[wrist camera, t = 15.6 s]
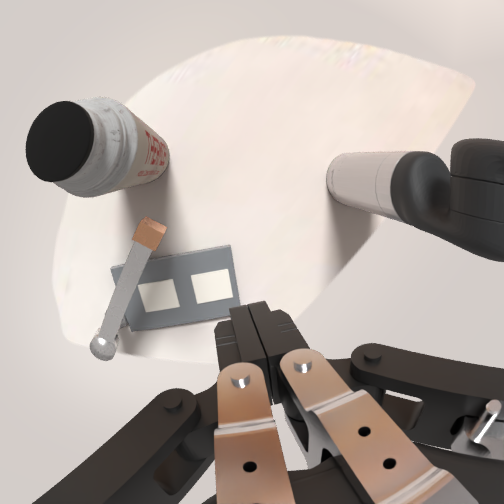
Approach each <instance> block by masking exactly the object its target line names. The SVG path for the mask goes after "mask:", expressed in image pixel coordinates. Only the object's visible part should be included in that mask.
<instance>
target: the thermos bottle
mask: <svg viewBox="0 0 504 504" xmlns="http://www.w3.org/2000/svg"><path fill="white" fill-rule="evenodd" d="M26 158H27V162H28V165H29V167H30V169H31V171H32V172H33V173H34V175H36V176H37V177H38V178H39V179H41V180H43V181H48V182H53V183H55V184H56V185H57V186H58V187H61V188H62V189H64V190H66V191H67V192H68V193H70V194H73V195H75V196H79V197H84V198H85V197H96V196H100V195H103V194H107V193H110V192H114V191H118V190H121V189H125V188H129V187H132V186H136V185H140V184H144V183H148V182H151V181H154V180H155V179H157V178H158V177H160V176H161V175H162V174H163V172H164V171H165V169H166V167H167V165H168V162H169V149H168V146H167V144H166V142H165V141H164V140H163V139H162V138H161V137H160V136H159V135H158V134H157V133H156V132H155V131H153V130H152V129H151V128H150V127H149V126H148V125H146V124H145V123H144V122H143V121H142V120H141V119H139V118H138V117H137V116H135V115H134V114H133V113H132V112H131V111H130V110H129V109H128V108H126V107H125V106H124V105H123V104H121V103H119V102H118V101H116V100H113V99H111V98H106V97H95V98H89V99H83V100H78V101H75V102H70V101H61V102H56V103H54V104H52V105H50V106H48V107H47V108H45V109H44V110H43V111H42V112H41V113H40V114H39V115H38V116H37V118H36V119H35V120H34V122H33V124H32V126H31V128H30V130H29V133H28V136H27V141H26Z"/></svg>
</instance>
